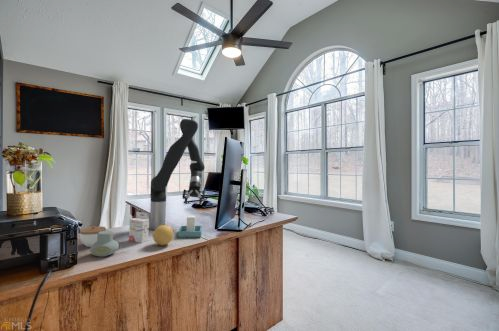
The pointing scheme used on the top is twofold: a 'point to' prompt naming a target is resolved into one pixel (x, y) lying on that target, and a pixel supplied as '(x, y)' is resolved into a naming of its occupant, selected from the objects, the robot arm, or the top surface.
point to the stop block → (190, 223)
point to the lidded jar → (90, 235)
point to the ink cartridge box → (139, 228)
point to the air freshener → (104, 244)
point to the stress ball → (163, 235)
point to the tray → (189, 232)
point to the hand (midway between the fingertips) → (193, 203)
